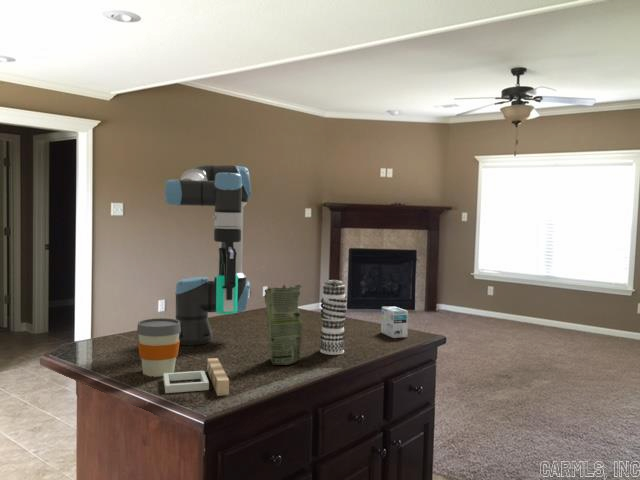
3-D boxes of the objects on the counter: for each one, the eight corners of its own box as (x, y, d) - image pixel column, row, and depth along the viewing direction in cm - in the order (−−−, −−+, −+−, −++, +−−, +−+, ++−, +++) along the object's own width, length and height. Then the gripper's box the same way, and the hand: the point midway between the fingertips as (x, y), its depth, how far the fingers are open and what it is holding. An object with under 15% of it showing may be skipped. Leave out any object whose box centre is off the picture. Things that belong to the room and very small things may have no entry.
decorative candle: (350, 351, 196) (352, 280, 194) (336, 356, 188) (338, 283, 187) (328, 346, 201) (330, 278, 200) (314, 351, 193) (316, 280, 192)
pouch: (261, 365, 176) (263, 286, 174) (270, 355, 187) (271, 281, 186) (296, 367, 174) (298, 288, 173) (302, 357, 186) (304, 283, 184)
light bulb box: (408, 337, 219) (408, 310, 219) (393, 338, 217) (393, 311, 216) (394, 331, 229) (395, 305, 229) (380, 332, 227) (381, 306, 226)
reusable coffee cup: (188, 372, 166) (189, 322, 165) (151, 381, 157) (151, 328, 156) (165, 363, 174) (165, 316, 174) (128, 371, 165) (128, 321, 164)
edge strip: (207, 371, 167) (207, 358, 167) (217, 371, 168) (217, 358, 168) (217, 395, 146) (217, 380, 146) (228, 394, 147) (229, 380, 147)
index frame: (163, 380, 158) (163, 373, 158) (204, 377, 162) (204, 370, 162) (165, 393, 147) (165, 385, 147) (208, 389, 151) (209, 382, 151)
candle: (238, 310, 161) (238, 269, 160) (236, 314, 155) (237, 271, 154) (217, 309, 161) (217, 268, 160) (214, 313, 155) (215, 271, 154)
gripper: (209, 226, 164) (208, 304, 165) (220, 229, 147) (218, 316, 148) (234, 226, 166) (233, 303, 168) (247, 229, 149) (246, 314, 151)
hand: (226, 309), depth 158 cm, fingers closed on candle, 5 cm apart
